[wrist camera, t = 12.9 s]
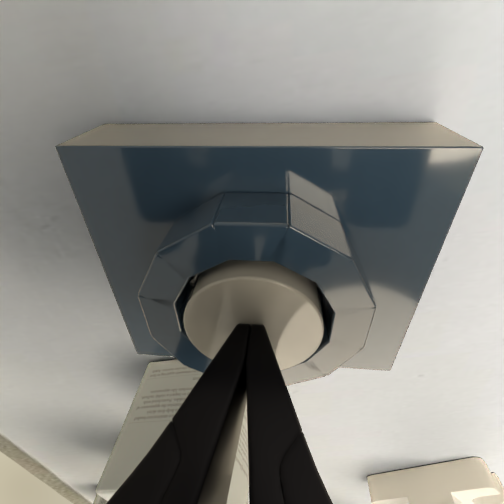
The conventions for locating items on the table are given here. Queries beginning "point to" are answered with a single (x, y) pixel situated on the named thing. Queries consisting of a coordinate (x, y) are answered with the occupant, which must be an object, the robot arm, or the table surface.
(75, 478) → the table surface
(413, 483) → the phone stand
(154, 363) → the product carton
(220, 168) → the blue button base
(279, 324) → the cream push button
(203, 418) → the robot arm
